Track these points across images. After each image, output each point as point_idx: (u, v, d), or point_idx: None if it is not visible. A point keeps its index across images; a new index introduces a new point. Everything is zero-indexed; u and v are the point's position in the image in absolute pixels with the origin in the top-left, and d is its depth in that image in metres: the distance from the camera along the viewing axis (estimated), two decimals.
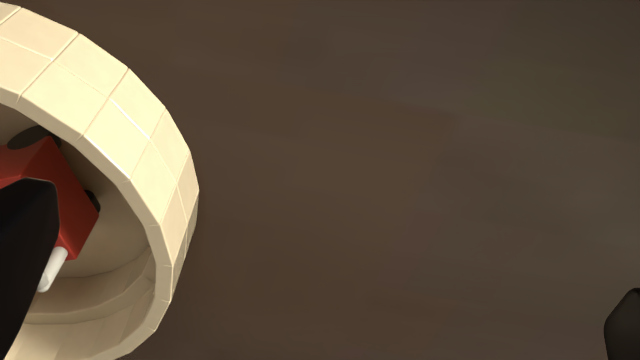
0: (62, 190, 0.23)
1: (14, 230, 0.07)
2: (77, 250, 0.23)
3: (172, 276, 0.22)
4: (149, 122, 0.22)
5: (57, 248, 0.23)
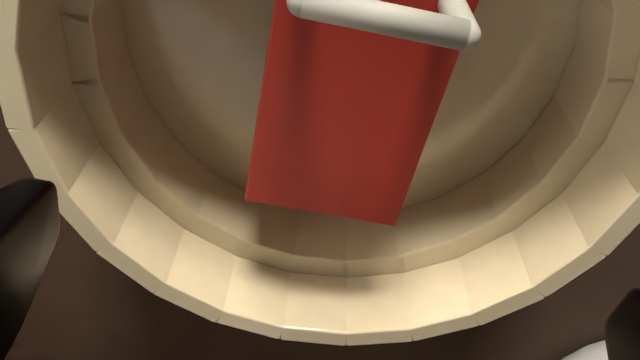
0: None
1: (14, 230, 0.07)
2: None
3: None
4: None
5: None
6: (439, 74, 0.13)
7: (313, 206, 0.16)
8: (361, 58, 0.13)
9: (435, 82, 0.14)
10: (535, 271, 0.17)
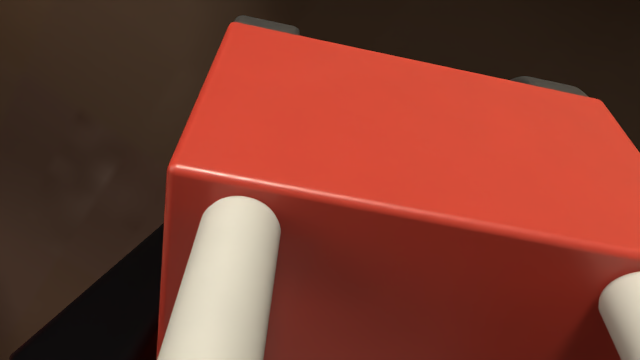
0: (408, 108, 0.05)
1: None
2: None
3: None
4: None
5: (612, 295, 0.04)
6: None
7: None
8: None
9: None
10: None
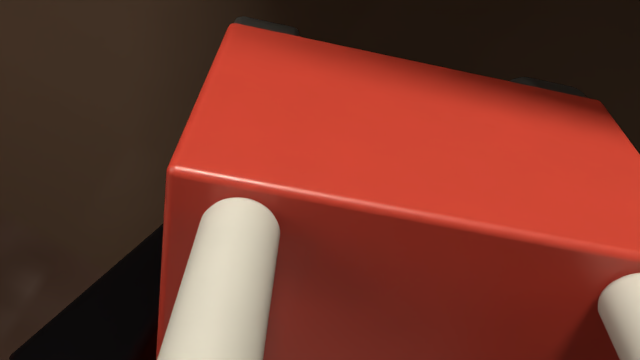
0: (408, 109, 0.05)
1: None
2: None
3: None
4: None
5: (611, 296, 0.04)
6: None
7: None
8: None
9: None
10: None
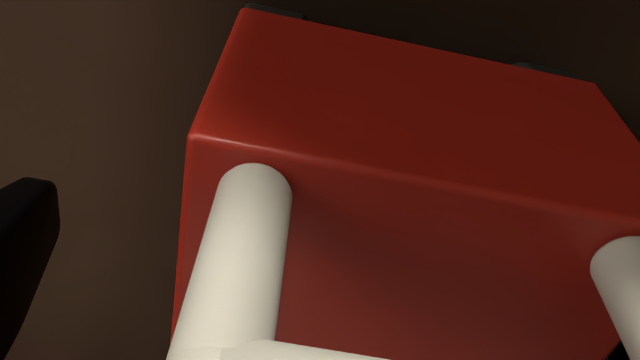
0: (411, 87, 0.06)
1: (14, 230, 0.07)
2: None
3: None
4: None
5: (602, 258, 0.05)
6: None
7: None
8: (390, 346, 0.06)
9: None
10: None
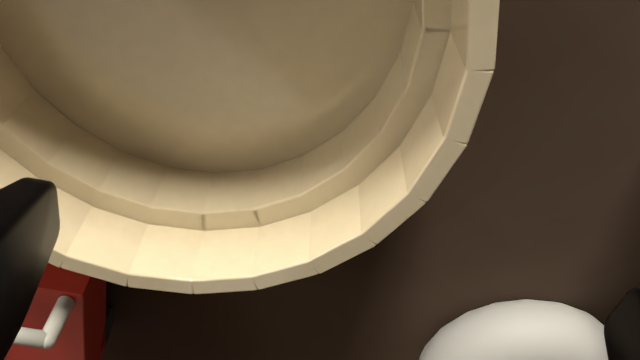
0: None
1: (14, 230, 0.07)
2: (79, 288, 0.21)
3: None
4: None
5: (57, 300, 0.21)
6: (76, 329, 0.22)
7: None
8: (26, 321, 0.22)
9: (75, 332, 0.22)
10: (366, 219, 0.17)
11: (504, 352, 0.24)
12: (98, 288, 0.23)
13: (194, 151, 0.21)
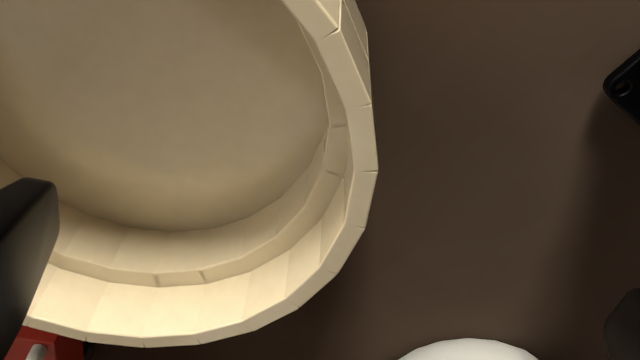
0: None
1: (14, 230, 0.07)
2: (51, 336, 0.24)
3: None
4: None
5: (31, 348, 0.24)
6: None
7: None
8: None
9: None
10: (289, 285, 0.19)
11: None
12: None
13: (151, 214, 0.24)
